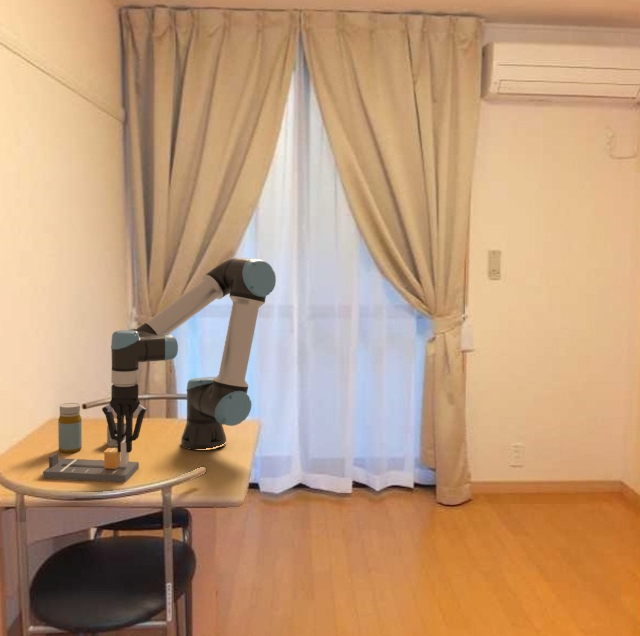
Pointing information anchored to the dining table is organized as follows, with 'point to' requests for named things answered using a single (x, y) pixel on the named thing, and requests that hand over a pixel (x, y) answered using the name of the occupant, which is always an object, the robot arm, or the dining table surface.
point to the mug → (110, 441)
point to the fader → (111, 458)
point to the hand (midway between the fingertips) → (124, 462)
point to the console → (87, 470)
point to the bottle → (70, 428)
